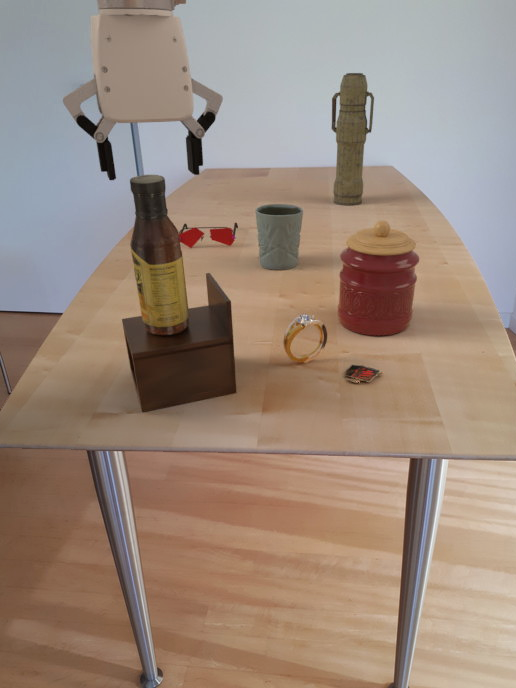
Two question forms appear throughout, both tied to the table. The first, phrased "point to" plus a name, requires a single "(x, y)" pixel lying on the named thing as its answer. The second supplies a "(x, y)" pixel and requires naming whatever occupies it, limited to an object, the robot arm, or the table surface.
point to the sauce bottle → (157, 259)
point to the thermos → (351, 137)
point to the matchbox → (361, 373)
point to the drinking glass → (279, 235)
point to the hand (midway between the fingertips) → (153, 175)
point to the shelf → (184, 355)
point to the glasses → (217, 235)
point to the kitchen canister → (377, 281)
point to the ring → (303, 321)
